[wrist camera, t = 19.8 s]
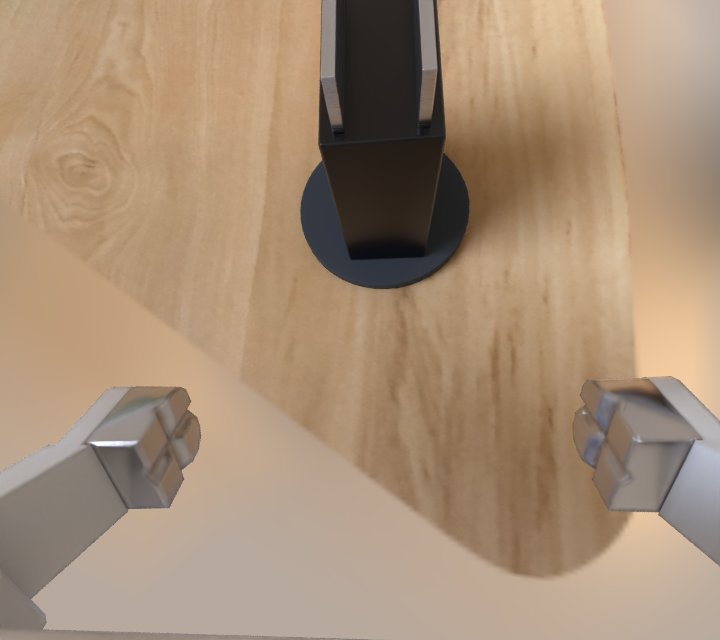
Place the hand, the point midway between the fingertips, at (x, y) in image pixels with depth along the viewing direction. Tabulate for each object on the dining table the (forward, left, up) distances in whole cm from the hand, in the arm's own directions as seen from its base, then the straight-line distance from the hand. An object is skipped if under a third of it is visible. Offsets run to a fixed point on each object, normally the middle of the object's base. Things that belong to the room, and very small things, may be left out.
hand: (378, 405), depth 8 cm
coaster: (+8, +1, -7) cm, 11 cm away
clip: (+8, +1, -6) cm, 11 cm away
